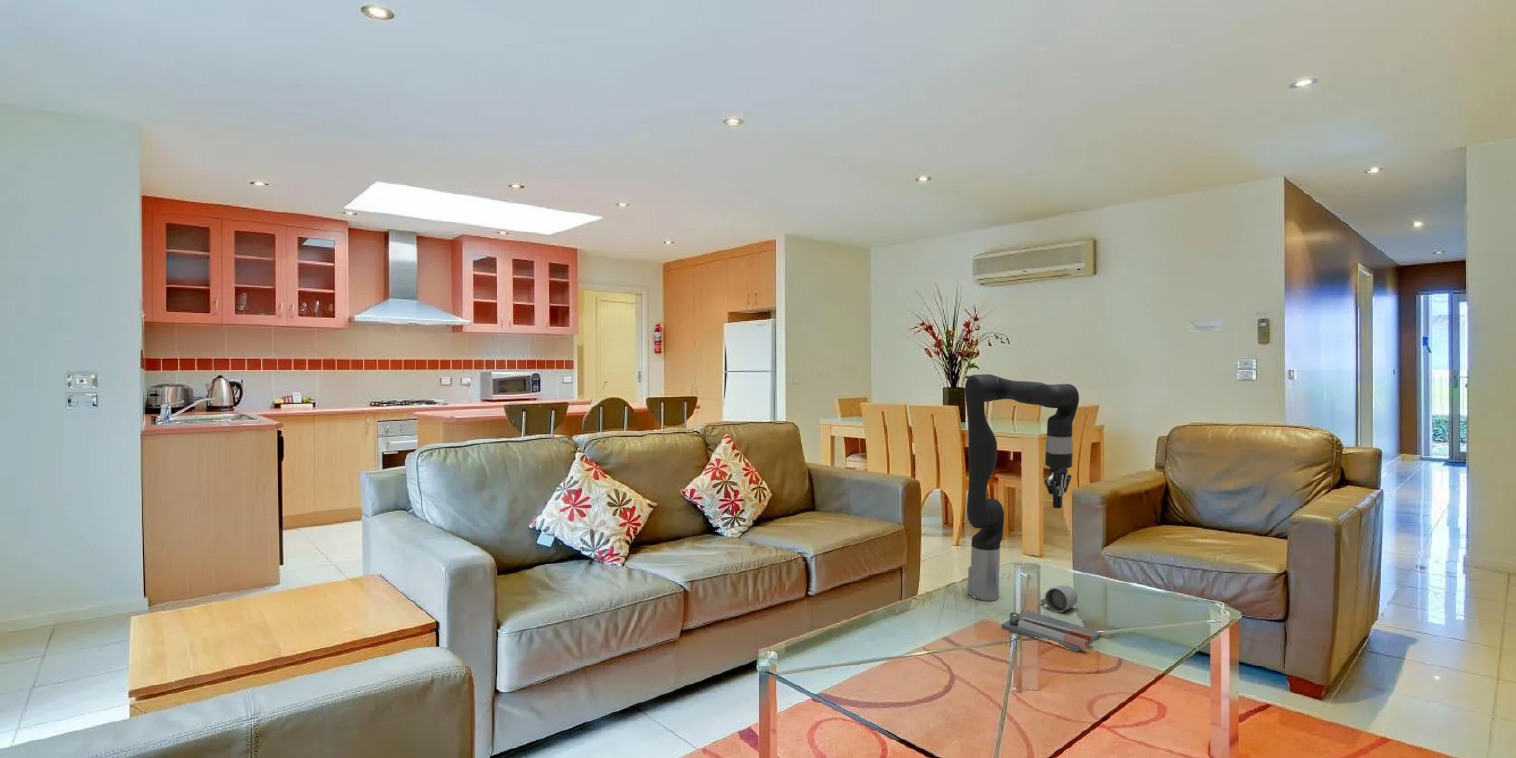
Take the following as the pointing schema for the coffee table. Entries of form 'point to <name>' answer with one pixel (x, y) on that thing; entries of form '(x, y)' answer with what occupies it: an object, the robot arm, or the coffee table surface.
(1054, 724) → the coffee table surface
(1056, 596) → the ceramic mug
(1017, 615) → the tongs fixed arm
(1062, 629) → the tongs free arm
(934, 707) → the coffee table surface
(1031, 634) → the board
